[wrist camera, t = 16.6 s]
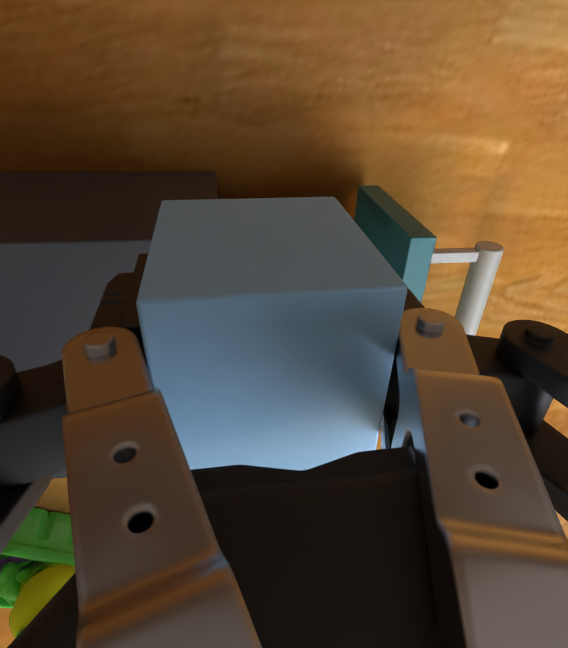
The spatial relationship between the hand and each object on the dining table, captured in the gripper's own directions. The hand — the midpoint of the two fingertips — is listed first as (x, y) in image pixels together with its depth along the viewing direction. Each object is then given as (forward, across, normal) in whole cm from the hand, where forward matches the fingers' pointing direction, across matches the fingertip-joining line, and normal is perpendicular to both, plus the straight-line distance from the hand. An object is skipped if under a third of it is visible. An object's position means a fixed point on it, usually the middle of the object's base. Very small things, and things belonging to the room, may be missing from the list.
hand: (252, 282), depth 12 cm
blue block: (0, 0, 0) cm, 0 cm away
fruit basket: (+15, +15, +32) cm, 39 cm away
